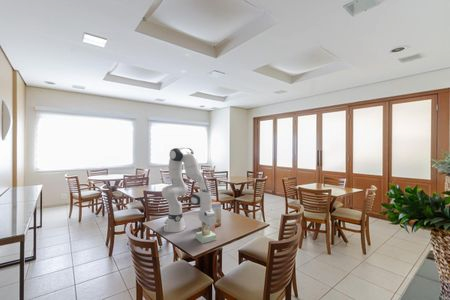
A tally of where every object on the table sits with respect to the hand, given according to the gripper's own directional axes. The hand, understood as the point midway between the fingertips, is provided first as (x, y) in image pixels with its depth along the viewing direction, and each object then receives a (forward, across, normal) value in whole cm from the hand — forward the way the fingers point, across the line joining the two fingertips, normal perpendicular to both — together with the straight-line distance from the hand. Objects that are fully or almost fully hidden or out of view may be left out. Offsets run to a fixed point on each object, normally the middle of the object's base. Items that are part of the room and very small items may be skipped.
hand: (205, 228), depth 168 cm
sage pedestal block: (+8, 0, 0) cm, 8 cm away
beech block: (+4, 0, 0) cm, 4 cm away
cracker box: (+8, -22, +18) cm, 30 cm away
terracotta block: (+8, -11, +10) cm, 17 cm away
